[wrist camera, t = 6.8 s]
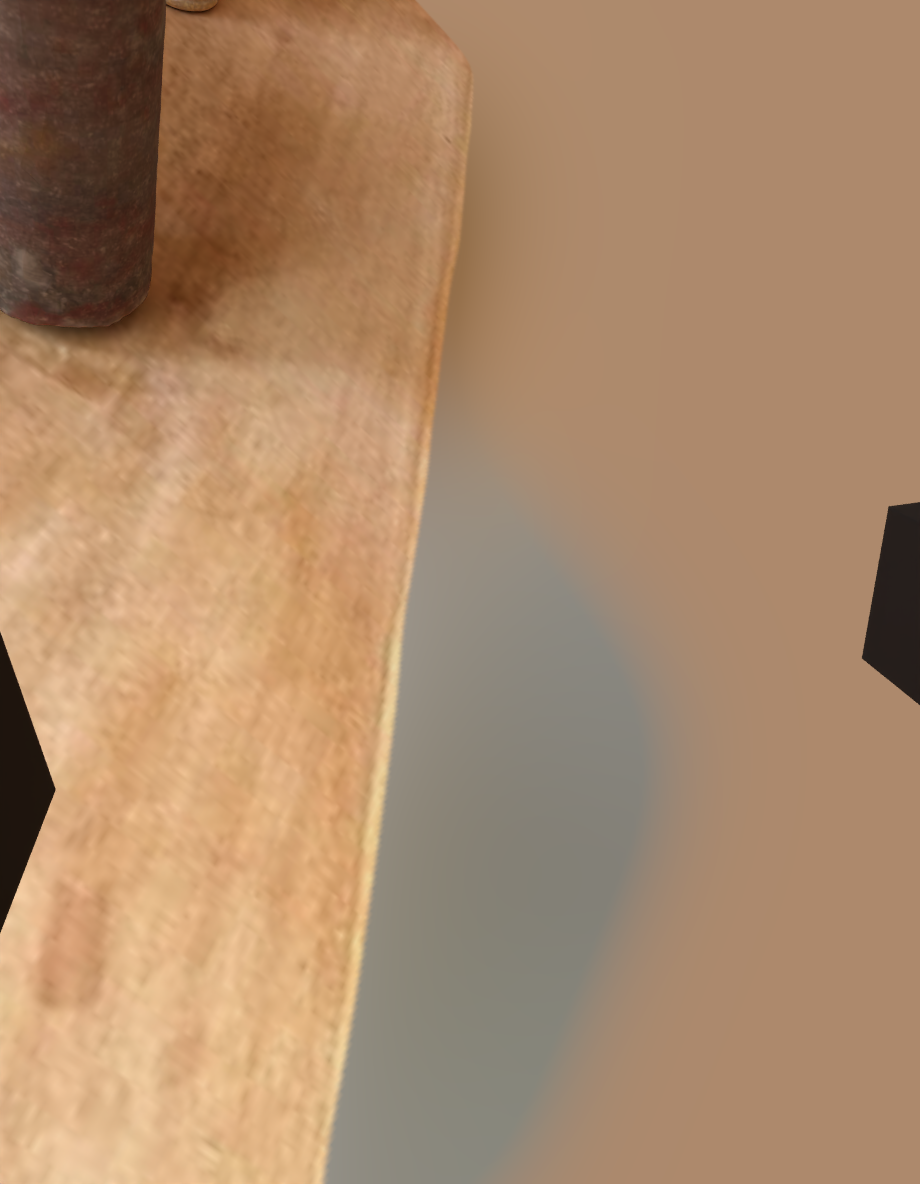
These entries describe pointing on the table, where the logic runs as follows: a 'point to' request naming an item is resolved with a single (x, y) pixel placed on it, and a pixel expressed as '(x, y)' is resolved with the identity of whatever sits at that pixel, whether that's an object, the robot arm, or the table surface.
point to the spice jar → (192, 4)
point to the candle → (78, 157)
